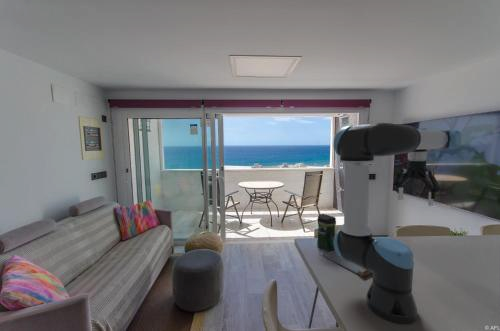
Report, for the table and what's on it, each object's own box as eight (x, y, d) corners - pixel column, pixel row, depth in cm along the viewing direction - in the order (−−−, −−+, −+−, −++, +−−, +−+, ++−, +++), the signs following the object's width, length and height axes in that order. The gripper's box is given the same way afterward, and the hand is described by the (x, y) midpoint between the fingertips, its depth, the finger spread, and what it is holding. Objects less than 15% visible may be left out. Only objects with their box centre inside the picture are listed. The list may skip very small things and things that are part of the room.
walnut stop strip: (362, 277, 98) (362, 272, 98) (358, 275, 100) (358, 269, 100) (386, 266, 107) (387, 261, 106) (382, 264, 108) (382, 259, 108)
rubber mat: (357, 274, 100) (357, 272, 100) (322, 255, 118) (322, 254, 118) (381, 263, 109) (381, 262, 109) (346, 247, 126) (346, 246, 126)
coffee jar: (338, 248, 125) (338, 216, 124) (328, 252, 121) (329, 218, 120) (324, 242, 134) (324, 211, 132) (314, 245, 129) (315, 214, 128)
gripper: (452, 161, 103) (449, 207, 105) (395, 158, 125) (393, 196, 127) (443, 162, 99) (441, 209, 101) (387, 159, 121) (385, 198, 123)
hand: (414, 202), depth 114 cm, fingers open, 13 cm apart
